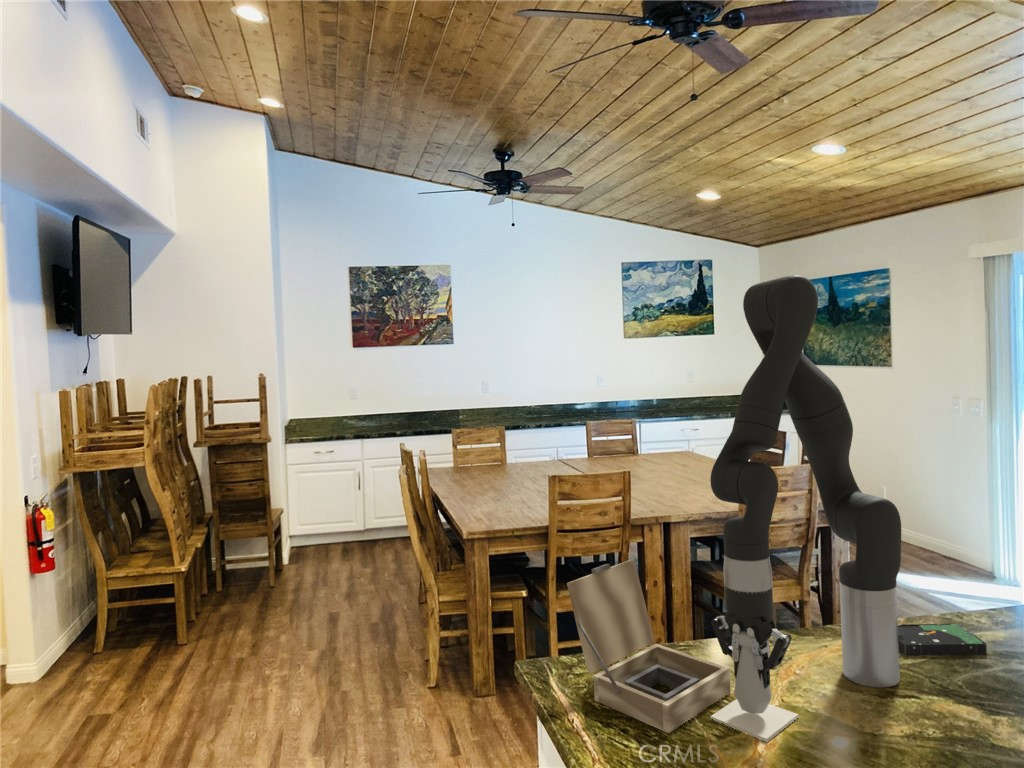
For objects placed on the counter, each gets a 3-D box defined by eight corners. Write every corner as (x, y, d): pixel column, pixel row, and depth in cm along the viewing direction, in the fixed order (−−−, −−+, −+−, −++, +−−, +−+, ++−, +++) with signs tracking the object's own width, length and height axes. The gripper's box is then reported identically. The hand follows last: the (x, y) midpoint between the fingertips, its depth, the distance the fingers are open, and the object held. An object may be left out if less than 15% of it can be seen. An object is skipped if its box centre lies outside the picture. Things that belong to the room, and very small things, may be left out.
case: (647, 662, 139) (644, 593, 139) (730, 693, 126) (727, 616, 125) (580, 698, 127) (576, 622, 126) (664, 736, 113) (660, 651, 112)
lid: (655, 641, 138) (650, 641, 139) (633, 555, 140) (628, 555, 141) (592, 673, 126) (587, 673, 127) (569, 578, 128) (565, 578, 129)
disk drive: (906, 659, 136) (988, 657, 134) (905, 645, 136) (987, 642, 134) (883, 637, 146) (960, 635, 145) (883, 624, 146) (959, 621, 144)
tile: (743, 697, 124) (743, 694, 124) (798, 717, 116) (798, 714, 116) (710, 719, 117) (710, 716, 117) (766, 742, 110) (766, 738, 110)
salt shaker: (777, 716, 114) (773, 636, 113) (741, 717, 114) (737, 638, 113) (764, 698, 119) (761, 622, 119) (730, 699, 120) (727, 624, 119)
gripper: (800, 585, 113) (804, 691, 114) (723, 568, 123) (727, 665, 124) (776, 598, 108) (780, 709, 109) (697, 579, 119) (702, 680, 119)
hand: (752, 685), depth 116 cm, fingers closed on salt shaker, 3 cm apart
